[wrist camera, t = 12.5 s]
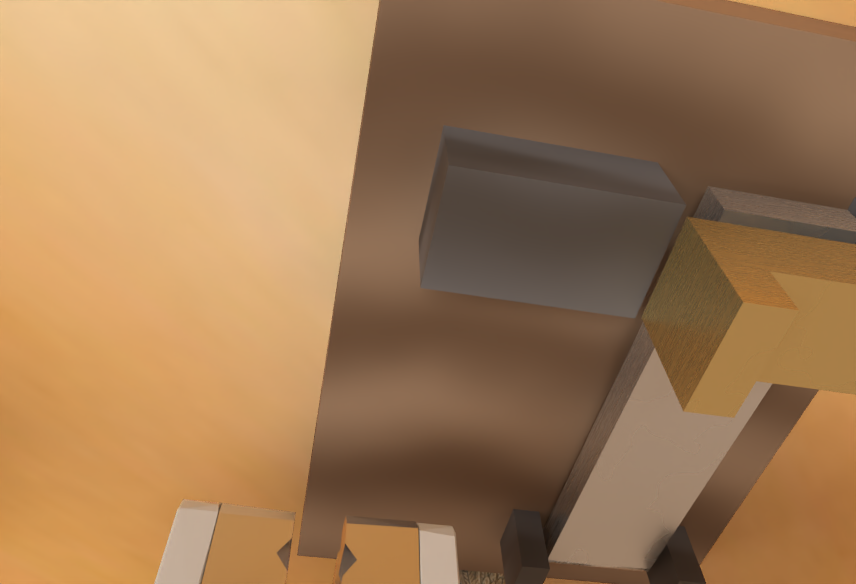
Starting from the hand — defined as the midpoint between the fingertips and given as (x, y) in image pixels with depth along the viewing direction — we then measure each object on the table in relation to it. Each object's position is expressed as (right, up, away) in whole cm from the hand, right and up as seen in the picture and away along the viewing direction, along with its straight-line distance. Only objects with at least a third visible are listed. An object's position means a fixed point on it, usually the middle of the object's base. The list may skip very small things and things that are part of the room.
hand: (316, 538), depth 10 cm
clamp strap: (+9, 0, +13) cm, 16 cm away
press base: (+6, +2, +14) cm, 16 cm away
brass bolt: (+10, +4, +8) cm, 14 cm away
